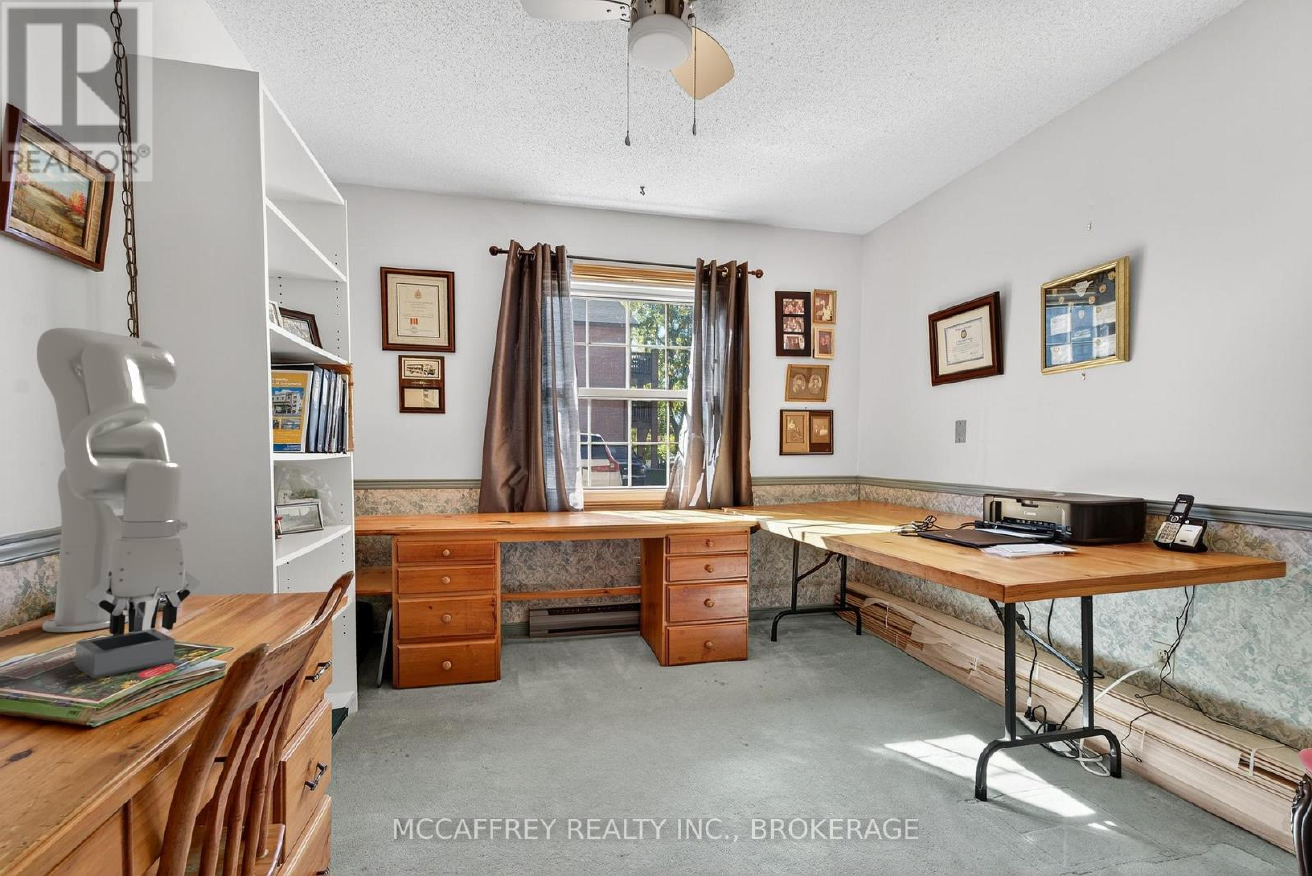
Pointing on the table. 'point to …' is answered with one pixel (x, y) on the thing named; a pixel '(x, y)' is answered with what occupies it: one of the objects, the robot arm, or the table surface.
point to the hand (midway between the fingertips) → (143, 631)
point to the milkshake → (143, 612)
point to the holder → (123, 653)
